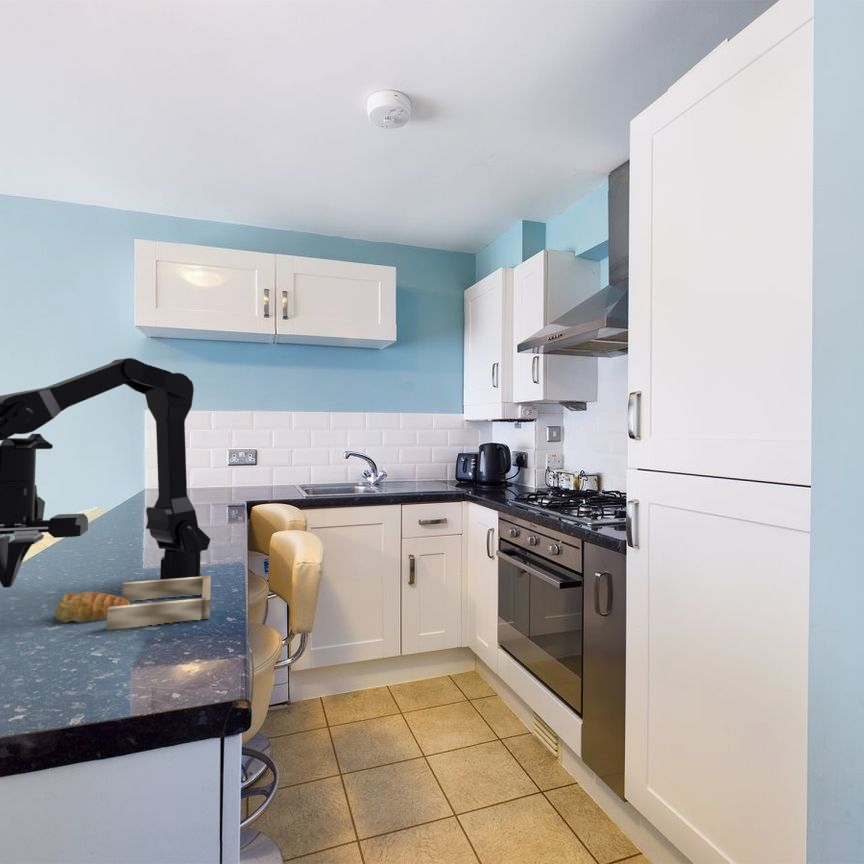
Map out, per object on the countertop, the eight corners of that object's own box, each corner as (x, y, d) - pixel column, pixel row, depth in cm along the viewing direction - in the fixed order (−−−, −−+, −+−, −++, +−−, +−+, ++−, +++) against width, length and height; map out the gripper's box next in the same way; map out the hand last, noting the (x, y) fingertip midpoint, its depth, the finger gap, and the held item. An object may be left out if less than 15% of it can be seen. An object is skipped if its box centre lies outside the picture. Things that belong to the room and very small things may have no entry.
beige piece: (210, 592, 94) (210, 575, 94) (209, 619, 80) (210, 599, 80) (123, 600, 89) (123, 582, 89) (106, 630, 75) (107, 609, 75)
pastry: (135, 608, 86) (135, 584, 86) (120, 622, 79) (121, 597, 79) (70, 611, 83) (70, 587, 83) (49, 626, 77) (50, 600, 77)
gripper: (96, 475, 88) (93, 568, 88) (-46, 477, 81) (-49, 578, 81) (80, 480, 78) (78, 586, 78) (-83, 483, 71) (-87, 599, 70)
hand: (7, 586), depth 77 cm, fingers closed
